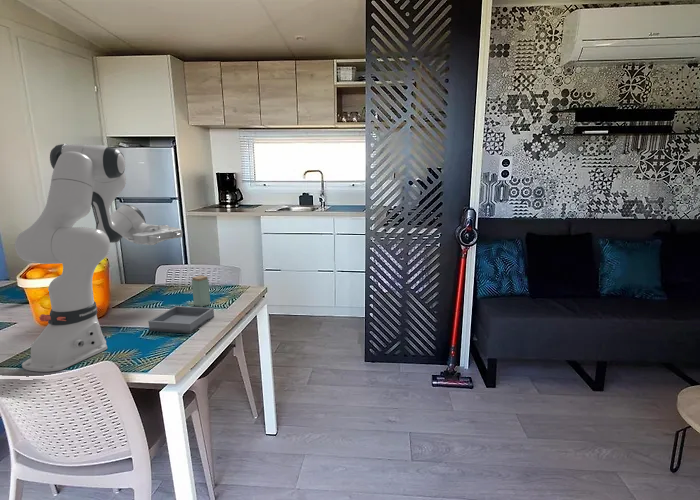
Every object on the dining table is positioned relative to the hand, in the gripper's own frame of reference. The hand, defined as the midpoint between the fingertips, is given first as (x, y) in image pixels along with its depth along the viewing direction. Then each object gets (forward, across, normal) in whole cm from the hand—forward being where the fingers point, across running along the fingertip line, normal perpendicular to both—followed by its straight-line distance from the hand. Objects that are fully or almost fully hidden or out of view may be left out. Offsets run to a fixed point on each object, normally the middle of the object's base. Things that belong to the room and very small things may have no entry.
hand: (169, 237), depth 166 cm
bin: (+24, -14, +28) cm, 39 cm away
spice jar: (+13, +3, +28) cm, 31 cm away
